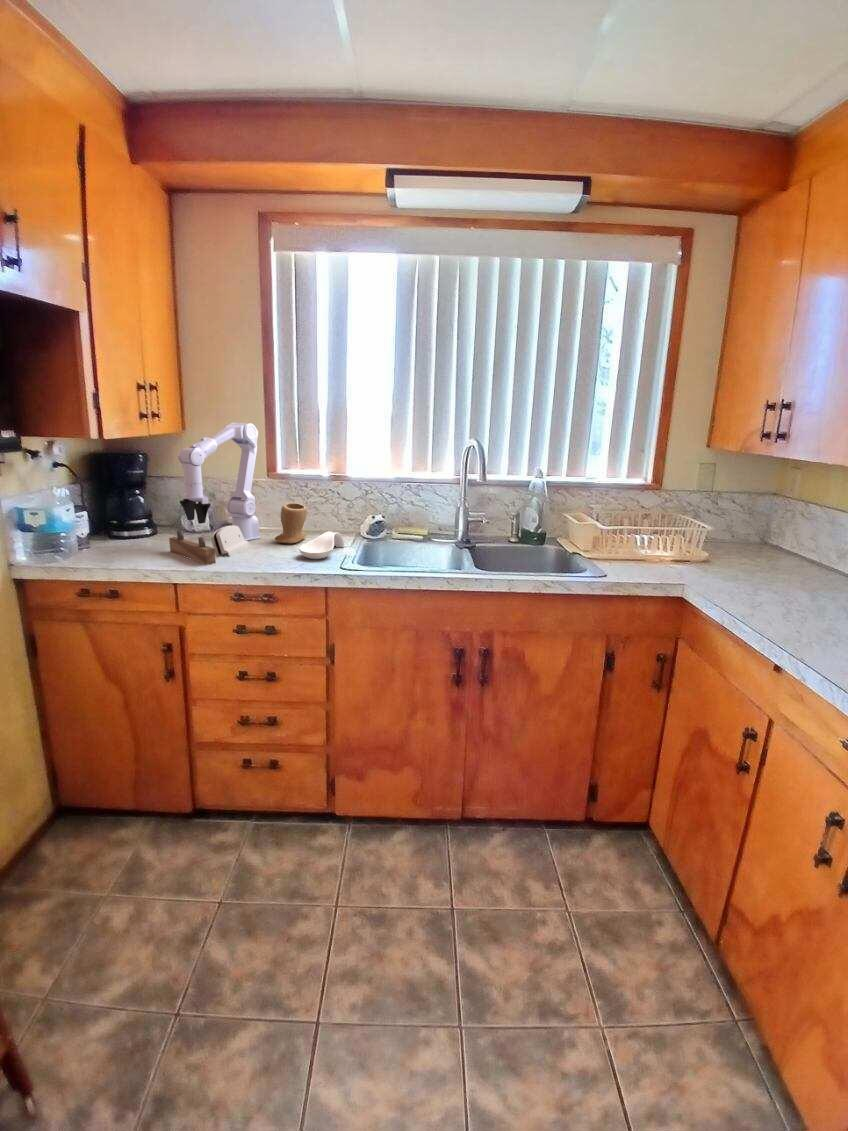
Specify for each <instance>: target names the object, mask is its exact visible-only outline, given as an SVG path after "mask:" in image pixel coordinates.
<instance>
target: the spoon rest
mask: <svg viewBox="0 0 848 1131" xmlns="http://www.w3.org/2000/svg"><path fill="white" fill-rule="evenodd" d="M334 546H336V547H334ZM341 547H343V548H345V540H344V538H343V536H342V534H340V533H339V532H338V531H337V532H333V531H326V532H324V533H322V534H321V535H319V536H317V537H316V538H314V539H311V540H309V541H307V542H305V543H304V544H302V545H300V546H299V547H298V551H299V553H301V555H302V556H304V557H305V558H307V559H311V560H323V559H326V558H327V557H328V556H330V555H331V553H333V550H334V548H341ZM325 557H326V558H325ZM322 558H323V559H322Z"/></svg>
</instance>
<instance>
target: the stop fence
mask: <svg viewBox="0 0 848 1131" xmlns="http://www.w3.org/2000/svg"><path fill="white" fill-rule="evenodd" d="M168 539H169V540H168V542H169V551H170V553H172V552H173V554H175V553H176V555H178V554H179V555H178V556H181V555H182V556H181V557H183V556H185V558H186V557H188V558H187V559H189V558H191V559H190V560H192V559H194V560H193V561H195V560H196V561H195V562H198V561H199V562H198V563H200V562H202V563H201V564H203V563H204V565H206V564H209V565H214V564H217V562H216V554H215V548H214V547H213V546H212V547H211V546H208V545H206V537H204V536H199V537H198V542H196V541H192V540H190V539H186V538H184V531H183V530H176V536H173V537H169V538H168ZM213 563H214V564H213Z"/></svg>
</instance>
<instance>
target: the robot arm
mask: <svg viewBox="0 0 848 1131" xmlns="http://www.w3.org/2000/svg"><path fill="white" fill-rule="evenodd" d="M258 438H259V430H258V429H257V427H256V426H255V425H254V424H253V423H251V422H250V423H240V422H230V423H229V424H227V425H226V426H225V428H223V429H221V430H220V431H219V432H217V433H216V434H215V435H213V436H211V438H210V437H208V436H207V437H206V436H205V437H201V438H200V440H199V441H198V442H196V443H191V445H190V446H189V447H184V448H182V449H181V450H180V452H179V455H178V456H177V458H178V461H179V462H180V463H181V468H182V469H183V481H184V482H183V483H184V493H181V494H180V496H181V500H179V504H180V505H181V507H182V508H183V510H184V513H185V516H186V520H187V521H193V520H194V521H195V513H196V518H197V523H198V524H206V521H207V516H208V515H207V514H208V511H209V509H210V507H211V503H210V502H209V498H208V497H206V496H205V495H204V490H203V488H204V487H203V475H202V465H203V464H204V462H205V459H207V458H208V457H210V456H211V455H212V454H214V453H216V451H217V450H218V447H219V446H220V445H222V444H224V443H226V442H228V441H230V440H232V441H233V442H234V443H235V444H236V445H238V446H239V448H240V449H241V454H240V460H239V466H238V467H239V468H238V473H237V480H236V486H235V487H236V488H235V490H234V491H233V492H232V493H231V494H230V497H229V499H228V502H227V503H226V509H227V512H228V513H229V514H230V517H231V522H232V525H233V526H238V527H239V528H240V530H241V532H242V535H243V537H244V539H245V541H251V540H252V541H253V540H256V539H261V536H260V524H259V519H258V517H257V516H256V515H255V512H256V497H255V496H254V495H253V494H252V493H251V492H252V486H253V478H254V472H255V466H256V459H257V453H258ZM232 525H231V526H232Z"/></svg>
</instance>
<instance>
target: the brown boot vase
mask: <svg viewBox="0 0 848 1131" xmlns="http://www.w3.org/2000/svg"><path fill="white" fill-rule="evenodd" d="M307 511H308V508H307V507H306V505H304V504H302V503H298V502H286V503H284V504H283V505H282V507H281V510H280V522H281V527H282V532H281V533H280V534H278V535H277V536H276V537H274V541H275V542H277V543H283V544H295V543H298V542H301V541H302V540H304V538H306V537H307V536H308V534H307V532H304V531H303V527H304V525H305V522H306V518H307V515H308V514H307V513H308V512H307Z"/></svg>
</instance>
